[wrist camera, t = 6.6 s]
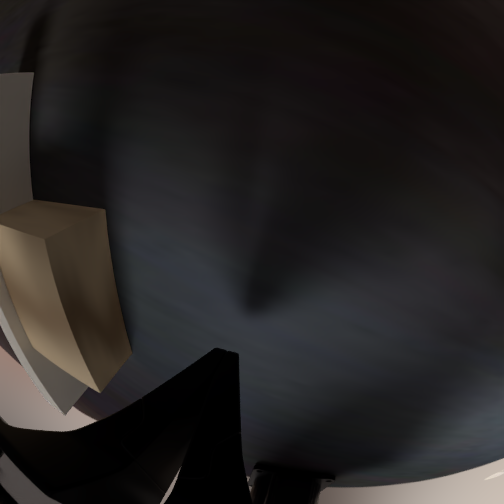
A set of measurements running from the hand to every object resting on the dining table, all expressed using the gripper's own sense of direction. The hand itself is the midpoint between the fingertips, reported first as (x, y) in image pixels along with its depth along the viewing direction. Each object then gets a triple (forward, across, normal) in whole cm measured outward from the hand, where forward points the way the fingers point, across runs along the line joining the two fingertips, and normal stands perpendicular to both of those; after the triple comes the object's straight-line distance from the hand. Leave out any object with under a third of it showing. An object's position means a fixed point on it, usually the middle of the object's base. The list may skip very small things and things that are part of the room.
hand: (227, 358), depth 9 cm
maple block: (+2, +9, 0) cm, 9 cm away
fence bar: (+1, +13, 0) cm, 13 cm away
